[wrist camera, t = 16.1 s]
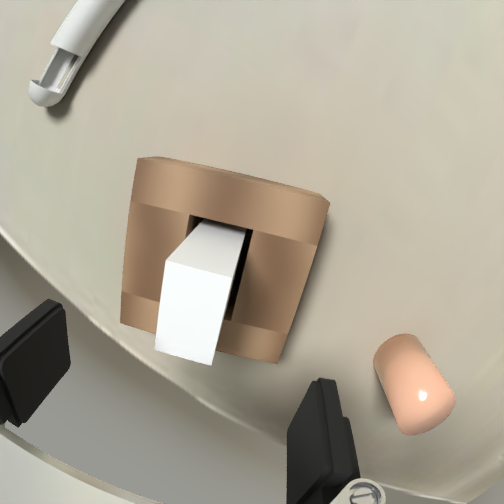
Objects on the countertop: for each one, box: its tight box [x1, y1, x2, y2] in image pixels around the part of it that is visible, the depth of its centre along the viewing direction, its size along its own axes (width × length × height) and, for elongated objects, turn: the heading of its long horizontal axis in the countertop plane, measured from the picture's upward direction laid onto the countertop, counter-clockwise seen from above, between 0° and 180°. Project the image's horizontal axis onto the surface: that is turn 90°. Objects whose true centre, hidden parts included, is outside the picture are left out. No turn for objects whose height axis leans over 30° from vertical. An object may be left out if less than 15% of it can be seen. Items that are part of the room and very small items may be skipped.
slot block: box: [120, 157, 330, 364], centre depth 22 cm, size 12×12×4 cm
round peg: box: [373, 334, 456, 435], centre depth 22 cm, size 5×5×8 cm
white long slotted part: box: [28, 0, 125, 107], centre depth 15 cm, size 18×5×7 cm, turn 146°
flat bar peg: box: [155, 218, 247, 365], centre depth 19 cm, size 3×5×10 cm, turn 166°
